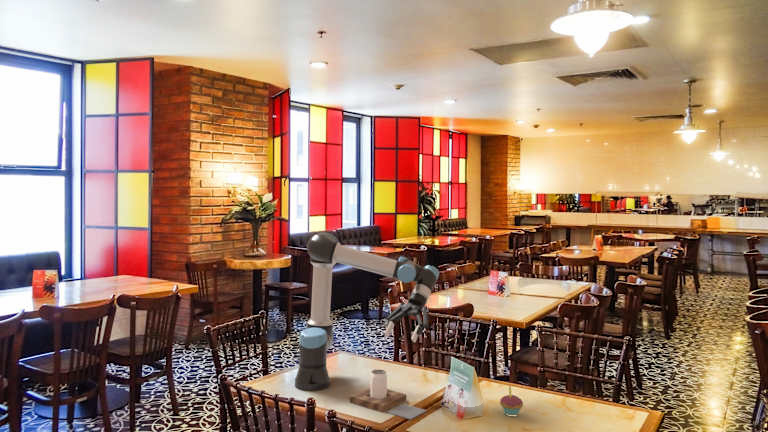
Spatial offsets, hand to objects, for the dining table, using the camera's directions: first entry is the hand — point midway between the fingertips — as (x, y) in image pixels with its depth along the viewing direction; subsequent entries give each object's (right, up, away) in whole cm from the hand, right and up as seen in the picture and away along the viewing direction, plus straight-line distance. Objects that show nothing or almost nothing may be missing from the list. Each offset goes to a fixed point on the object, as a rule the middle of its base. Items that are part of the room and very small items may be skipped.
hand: (399, 338), depth 237 cm
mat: (+2, -24, -20) cm, 31 cm away
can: (-9, -23, -10) cm, 27 cm away
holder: (-9, -23, -10) cm, 27 cm away
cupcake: (+42, -25, -21) cm, 53 cm away
